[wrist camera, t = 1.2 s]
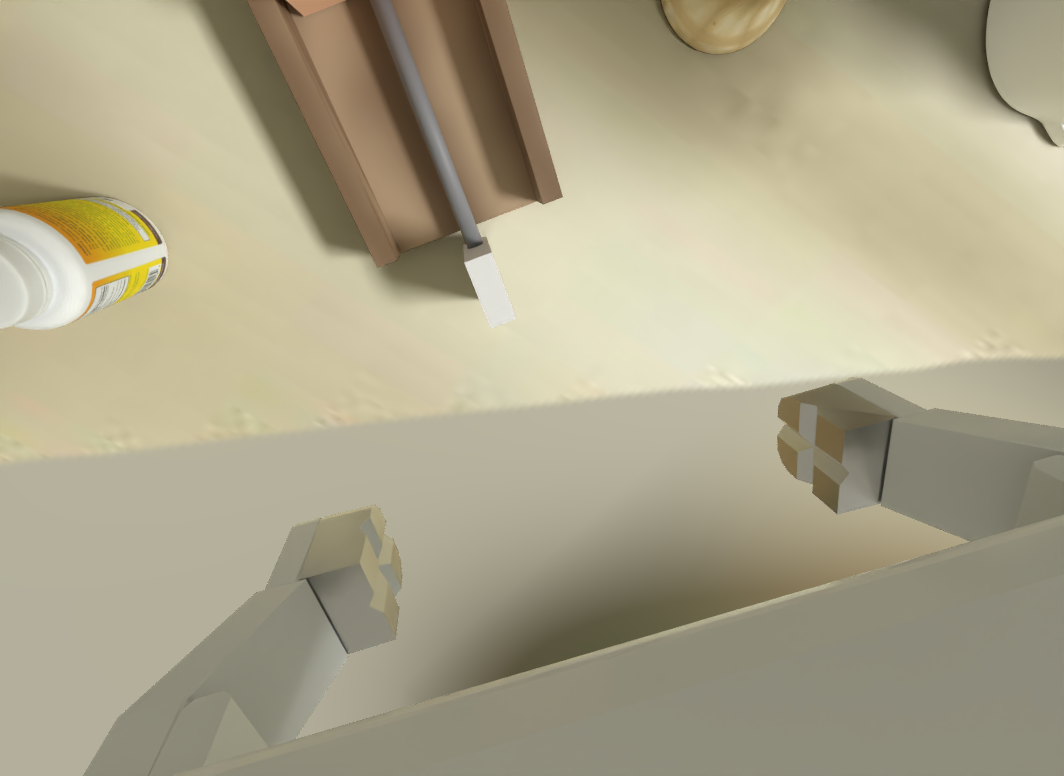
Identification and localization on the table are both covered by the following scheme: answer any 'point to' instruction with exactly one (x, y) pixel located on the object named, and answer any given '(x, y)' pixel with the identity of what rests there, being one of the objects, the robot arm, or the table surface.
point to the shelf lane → (390, 123)
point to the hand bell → (721, 22)
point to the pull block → (438, 162)
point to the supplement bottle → (74, 259)
